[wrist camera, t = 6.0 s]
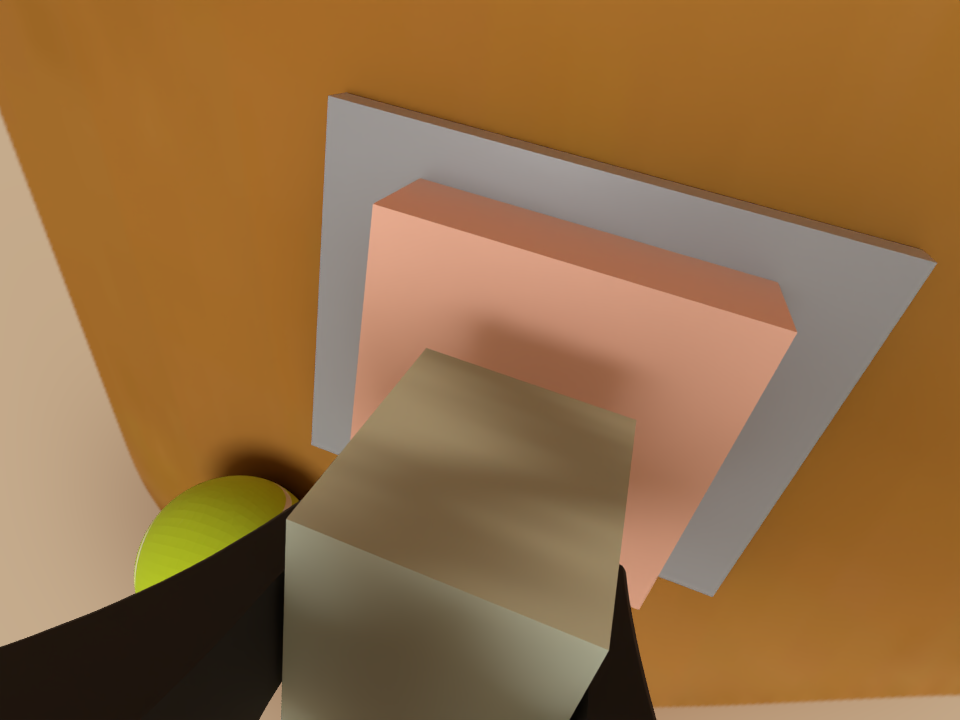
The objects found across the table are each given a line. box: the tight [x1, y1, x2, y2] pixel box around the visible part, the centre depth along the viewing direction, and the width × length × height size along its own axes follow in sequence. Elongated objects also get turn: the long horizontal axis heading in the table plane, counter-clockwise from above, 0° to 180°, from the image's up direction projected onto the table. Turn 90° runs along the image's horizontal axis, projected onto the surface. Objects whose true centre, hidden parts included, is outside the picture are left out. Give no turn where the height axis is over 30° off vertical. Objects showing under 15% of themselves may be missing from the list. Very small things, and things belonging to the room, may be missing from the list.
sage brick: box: [281, 348, 636, 720], centre depth 11 cm, size 4×6×5 cm
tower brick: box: [350, 178, 797, 610], centre depth 17 cm, size 10×10×3 cm
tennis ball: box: [134, 475, 299, 593], centre depth 24 cm, size 7×7×7 cm
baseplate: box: [311, 93, 937, 597], centre depth 19 cm, size 16×13×1 cm
